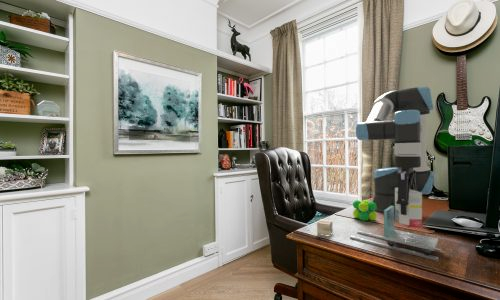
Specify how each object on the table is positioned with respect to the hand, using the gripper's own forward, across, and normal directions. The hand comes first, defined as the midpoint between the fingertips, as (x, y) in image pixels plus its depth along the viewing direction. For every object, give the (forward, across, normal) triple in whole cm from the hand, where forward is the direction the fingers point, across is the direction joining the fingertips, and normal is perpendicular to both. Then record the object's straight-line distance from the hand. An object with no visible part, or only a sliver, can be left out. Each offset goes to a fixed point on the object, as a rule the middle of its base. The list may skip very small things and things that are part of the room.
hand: (407, 220), depth 81 cm
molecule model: (+10, -26, -23) cm, 36 cm away
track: (+10, -1, -5) cm, 11 cm away
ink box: (+1, 0, 0) cm, 1 cm away
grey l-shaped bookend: (+10, -1, +1) cm, 10 cm away
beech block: (+10, +5, -28) cm, 30 cm away
